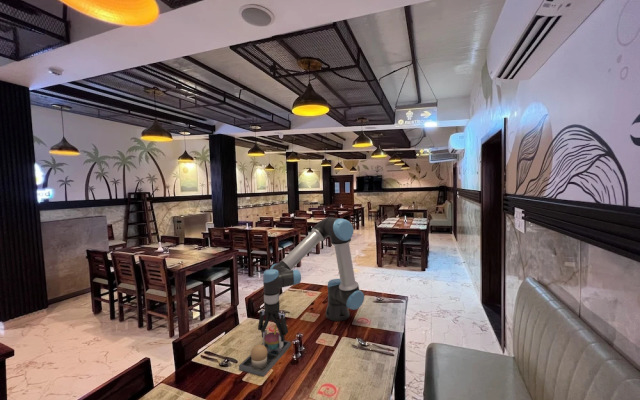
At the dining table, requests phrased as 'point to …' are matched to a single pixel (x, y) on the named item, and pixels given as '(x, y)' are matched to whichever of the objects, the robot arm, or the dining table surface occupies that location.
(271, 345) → the cupcake
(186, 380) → the dining table surface
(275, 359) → the dark grey tray
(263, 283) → the robot arm
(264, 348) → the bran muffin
